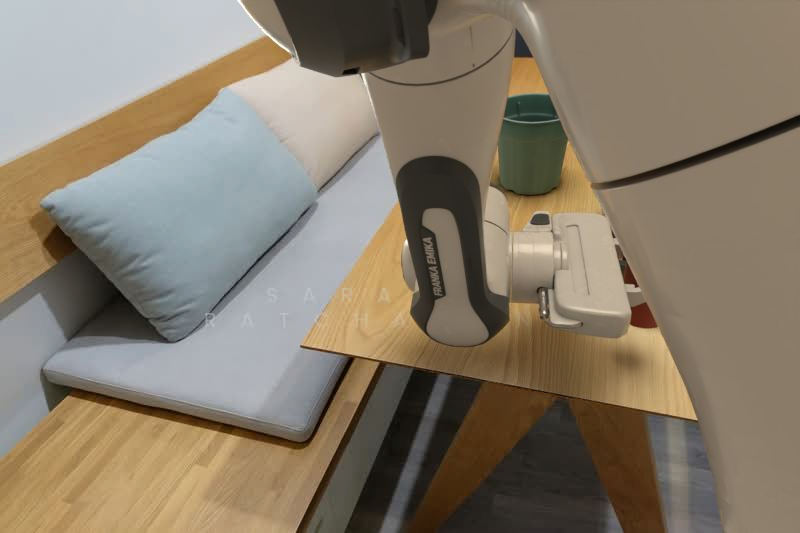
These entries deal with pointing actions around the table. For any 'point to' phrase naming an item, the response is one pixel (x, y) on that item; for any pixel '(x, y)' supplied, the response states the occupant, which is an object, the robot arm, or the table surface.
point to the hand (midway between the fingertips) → (659, 271)
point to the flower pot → (531, 145)
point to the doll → (639, 306)
